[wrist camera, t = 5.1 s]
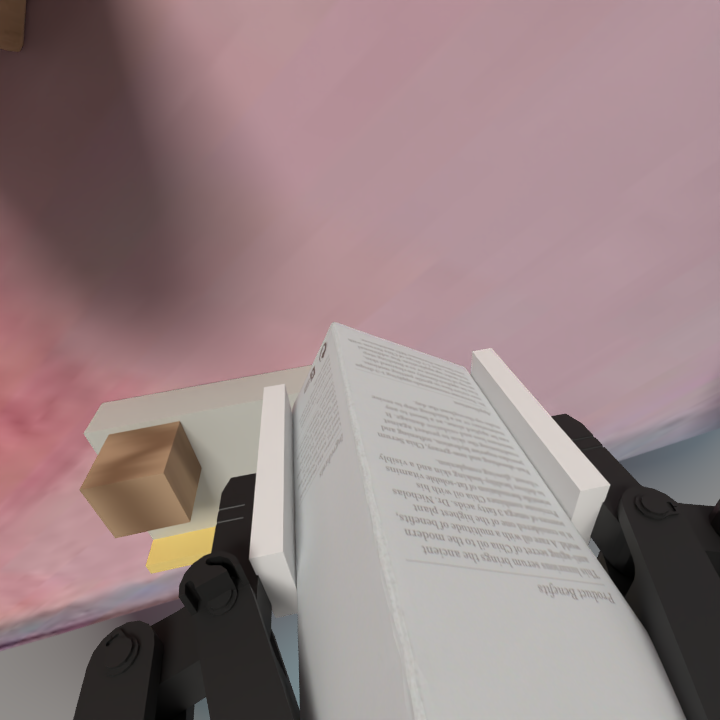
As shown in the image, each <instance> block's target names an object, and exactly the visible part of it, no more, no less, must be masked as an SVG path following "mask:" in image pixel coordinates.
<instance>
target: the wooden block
mask: <svg viewBox="0 0 720 720" xmlns="http://www.w3.org/2000/svg"><path fill="white" fill-rule="evenodd" d="M25 11H26V0H0V49H3V50H7V51H15V52H19V51H20V50H21V48H22V46H23V39H24V25H25Z"/></svg>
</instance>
